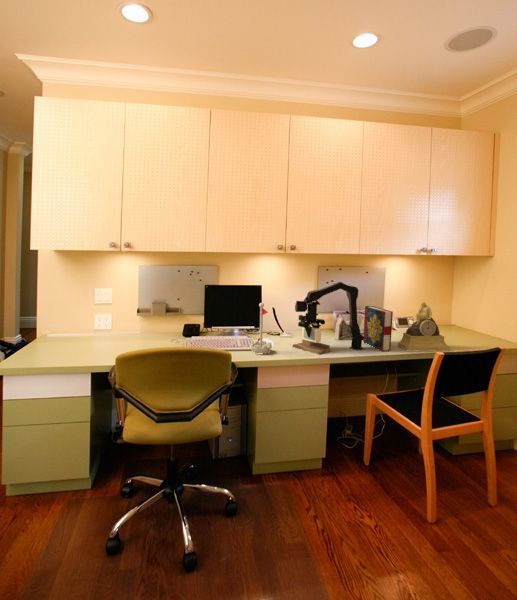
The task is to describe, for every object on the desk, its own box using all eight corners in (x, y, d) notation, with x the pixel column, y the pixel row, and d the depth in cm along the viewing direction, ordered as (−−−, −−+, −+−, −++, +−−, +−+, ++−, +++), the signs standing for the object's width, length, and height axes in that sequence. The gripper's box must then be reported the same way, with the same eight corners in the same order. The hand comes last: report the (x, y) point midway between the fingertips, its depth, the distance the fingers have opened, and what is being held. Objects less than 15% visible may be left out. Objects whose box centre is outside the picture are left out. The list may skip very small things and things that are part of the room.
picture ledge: (303, 344, 256) (303, 338, 255) (329, 351, 239) (329, 345, 239) (292, 346, 249) (292, 340, 249) (318, 354, 233) (319, 347, 232)
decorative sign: (349, 337, 289) (351, 317, 289) (352, 337, 288) (354, 317, 287) (334, 339, 271) (336, 318, 270) (337, 340, 270) (339, 318, 269)
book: (361, 342, 266) (362, 305, 263) (370, 341, 268) (372, 305, 264) (381, 351, 242) (383, 312, 238) (391, 351, 243) (393, 311, 240)
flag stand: (245, 352, 236) (246, 302, 232) (259, 348, 246) (260, 300, 242) (261, 356, 227) (262, 305, 223) (275, 352, 237) (277, 302, 233)
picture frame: (306, 338, 250) (306, 325, 248) (320, 341, 240) (321, 329, 239) (301, 339, 247) (302, 326, 246) (316, 342, 238) (316, 330, 237)
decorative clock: (407, 351, 244) (410, 303, 240) (397, 346, 257) (400, 300, 253) (449, 350, 247) (453, 303, 243) (438, 345, 260) (442, 300, 256)
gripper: (312, 308, 253) (311, 332, 255) (292, 311, 241) (291, 336, 243) (325, 311, 245) (325, 335, 247) (305, 314, 233) (304, 339, 235)
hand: (311, 336), depth 243 cm, fingers closed on picture frame, 4 cm apart
